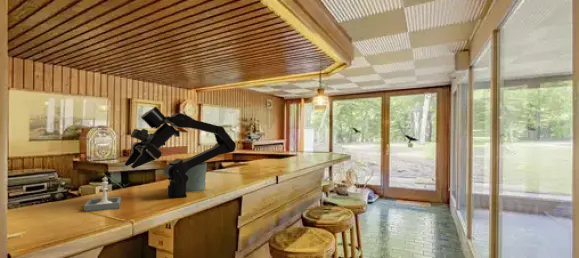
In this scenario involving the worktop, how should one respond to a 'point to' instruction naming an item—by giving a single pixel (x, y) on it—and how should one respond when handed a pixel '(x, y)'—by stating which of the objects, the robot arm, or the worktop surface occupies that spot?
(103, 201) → the chess piece
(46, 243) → the worktop surface
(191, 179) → the grey cylinder
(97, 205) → the tray
